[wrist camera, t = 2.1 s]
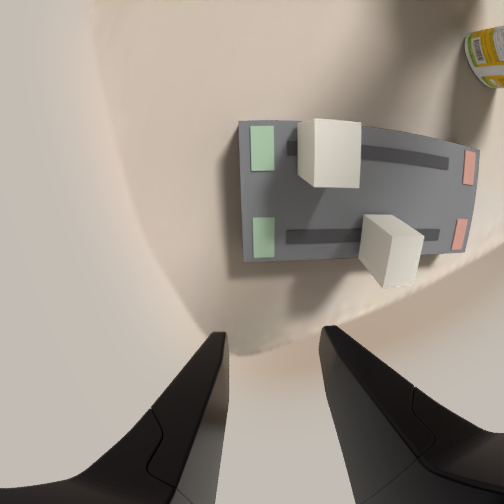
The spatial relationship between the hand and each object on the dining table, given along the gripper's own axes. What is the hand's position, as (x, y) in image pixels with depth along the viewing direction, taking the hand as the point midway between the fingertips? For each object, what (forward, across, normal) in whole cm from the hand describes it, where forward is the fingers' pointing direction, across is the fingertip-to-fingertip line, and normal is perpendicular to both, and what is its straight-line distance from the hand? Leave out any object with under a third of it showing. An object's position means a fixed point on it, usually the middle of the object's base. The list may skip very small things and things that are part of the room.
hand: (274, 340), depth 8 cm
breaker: (+8, -3, -5) cm, 10 cm away
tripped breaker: (+8, -7, 0) cm, 11 cm away
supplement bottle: (+11, -20, -16) cm, 28 cm away
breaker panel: (+11, -8, -2) cm, 14 cm away
